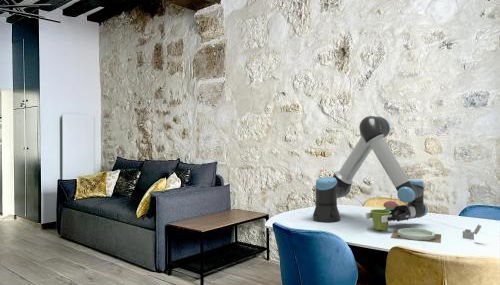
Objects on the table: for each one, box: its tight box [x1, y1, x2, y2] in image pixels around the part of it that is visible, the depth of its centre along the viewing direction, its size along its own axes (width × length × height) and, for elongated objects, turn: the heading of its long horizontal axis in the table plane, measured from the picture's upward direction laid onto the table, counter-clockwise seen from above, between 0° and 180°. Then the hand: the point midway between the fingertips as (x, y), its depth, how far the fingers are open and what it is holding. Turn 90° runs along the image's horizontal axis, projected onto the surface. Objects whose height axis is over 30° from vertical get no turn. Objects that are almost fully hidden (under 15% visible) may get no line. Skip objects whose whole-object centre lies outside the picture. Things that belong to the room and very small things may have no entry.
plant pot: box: [369, 208, 391, 232], centre depth 184 cm, size 9×9×9 cm
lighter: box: [462, 224, 483, 240], centre depth 167 cm, size 7×2×8 cm, turn 50°
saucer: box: [397, 227, 436, 242], centre depth 172 cm, size 15×15×2 cm
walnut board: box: [390, 229, 442, 244], centre depth 172 cm, size 20×16×2 cm
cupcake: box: [383, 194, 399, 210], centre depth 234 cm, size 9×8×12 cm
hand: (374, 217), depth 181 cm, fingers closed on plant pot, 8 cm apart
